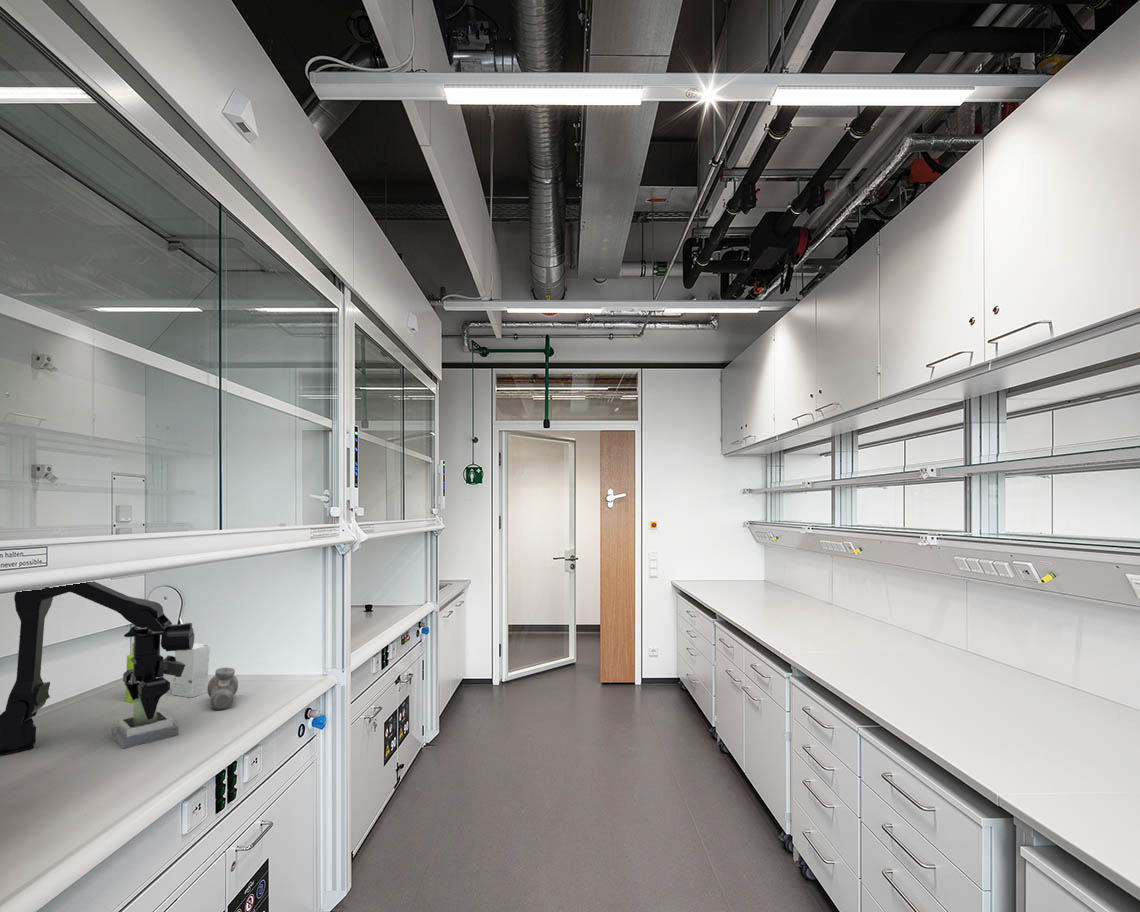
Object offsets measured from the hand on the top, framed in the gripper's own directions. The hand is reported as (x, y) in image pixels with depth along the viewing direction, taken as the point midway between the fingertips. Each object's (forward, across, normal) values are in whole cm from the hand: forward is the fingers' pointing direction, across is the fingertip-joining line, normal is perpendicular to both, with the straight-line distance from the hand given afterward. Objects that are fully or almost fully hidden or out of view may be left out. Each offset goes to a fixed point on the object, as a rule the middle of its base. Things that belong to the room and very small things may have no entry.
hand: (145, 714), depth 167 cm
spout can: (+3, 0, 0) cm, 3 cm away
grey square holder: (+5, 0, 0) cm, 5 cm away
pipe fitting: (+6, +11, -22) cm, 25 cm away
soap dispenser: (+5, +35, -6) cm, 36 cm away
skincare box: (+5, +29, -19) cm, 35 cm away
